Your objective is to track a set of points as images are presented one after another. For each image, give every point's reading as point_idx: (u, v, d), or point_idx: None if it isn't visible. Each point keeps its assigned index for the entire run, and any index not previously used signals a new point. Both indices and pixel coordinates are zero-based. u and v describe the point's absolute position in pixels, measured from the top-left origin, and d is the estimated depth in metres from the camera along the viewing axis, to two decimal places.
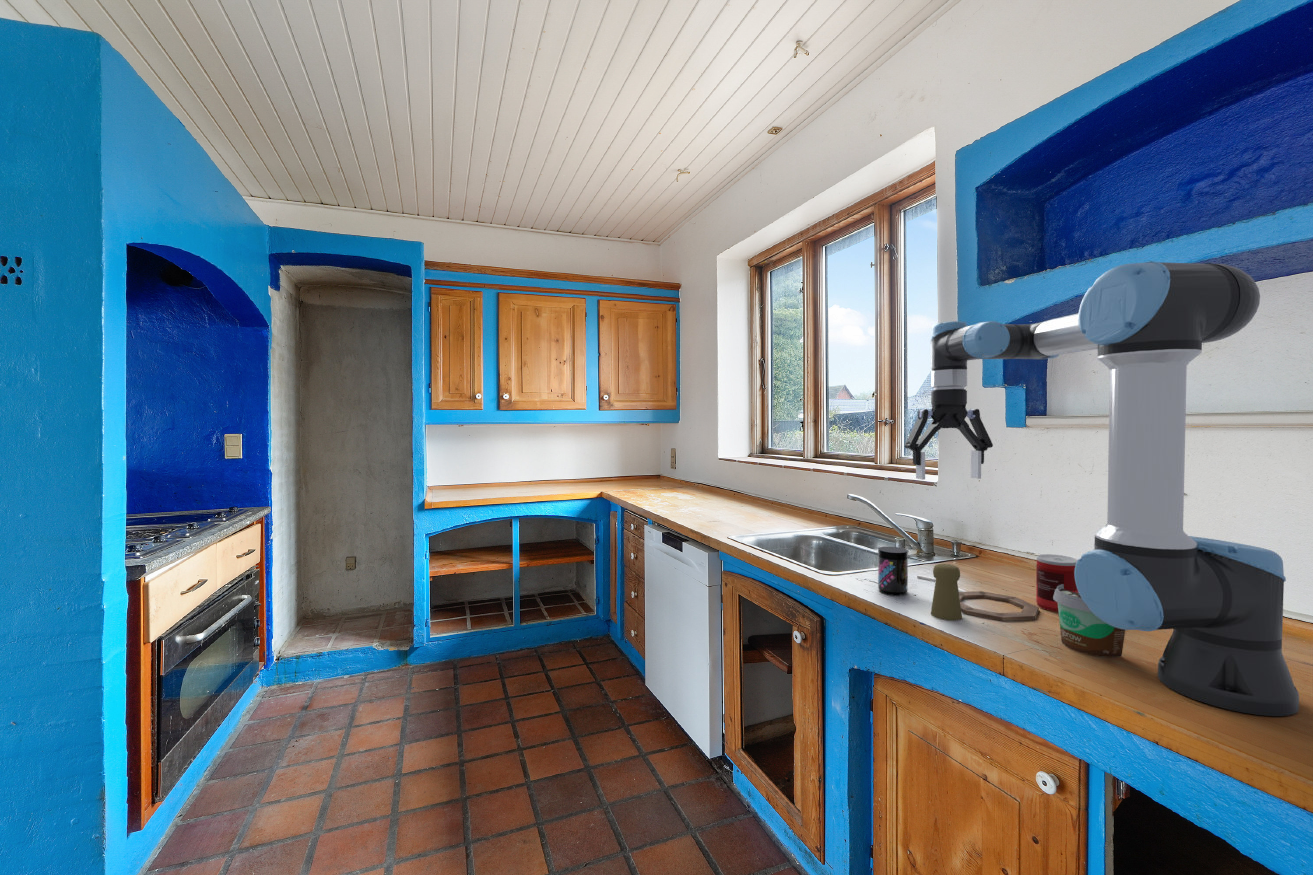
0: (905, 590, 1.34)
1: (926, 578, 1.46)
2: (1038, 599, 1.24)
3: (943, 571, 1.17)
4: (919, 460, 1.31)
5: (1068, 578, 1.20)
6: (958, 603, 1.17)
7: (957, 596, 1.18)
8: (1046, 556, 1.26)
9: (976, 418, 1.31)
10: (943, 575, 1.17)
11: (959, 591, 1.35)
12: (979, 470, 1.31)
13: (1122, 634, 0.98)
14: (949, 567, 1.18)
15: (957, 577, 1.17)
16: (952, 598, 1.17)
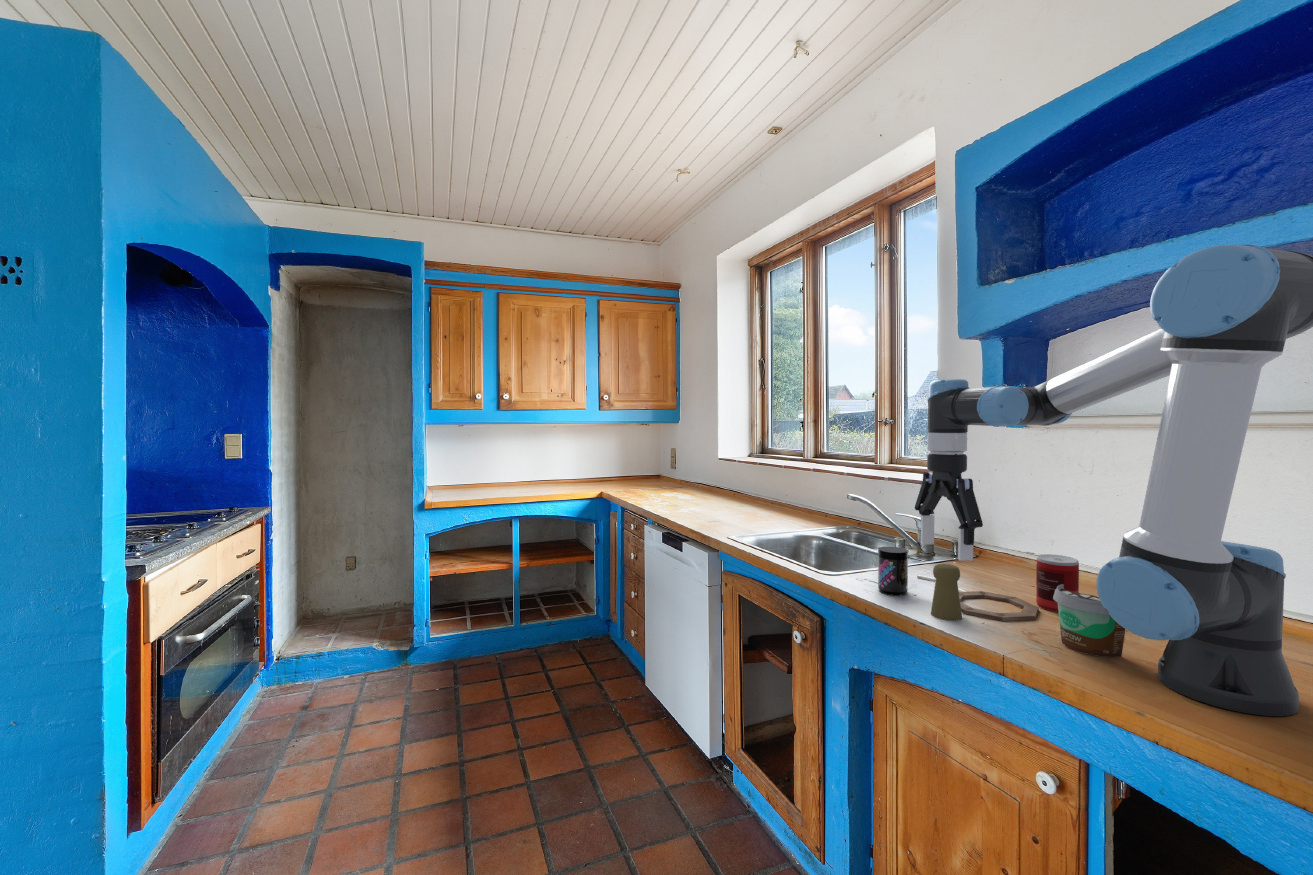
0: (905, 590, 1.34)
1: (926, 578, 1.46)
2: (1038, 599, 1.24)
3: (943, 571, 1.17)
4: None
5: (1068, 578, 1.20)
6: (958, 603, 1.17)
7: (957, 596, 1.18)
8: (1046, 556, 1.26)
9: (958, 489, 1.13)
10: (943, 575, 1.17)
11: (959, 591, 1.35)
12: (959, 550, 1.13)
13: (1122, 634, 0.98)
14: (949, 567, 1.18)
15: (957, 577, 1.17)
16: (952, 598, 1.17)
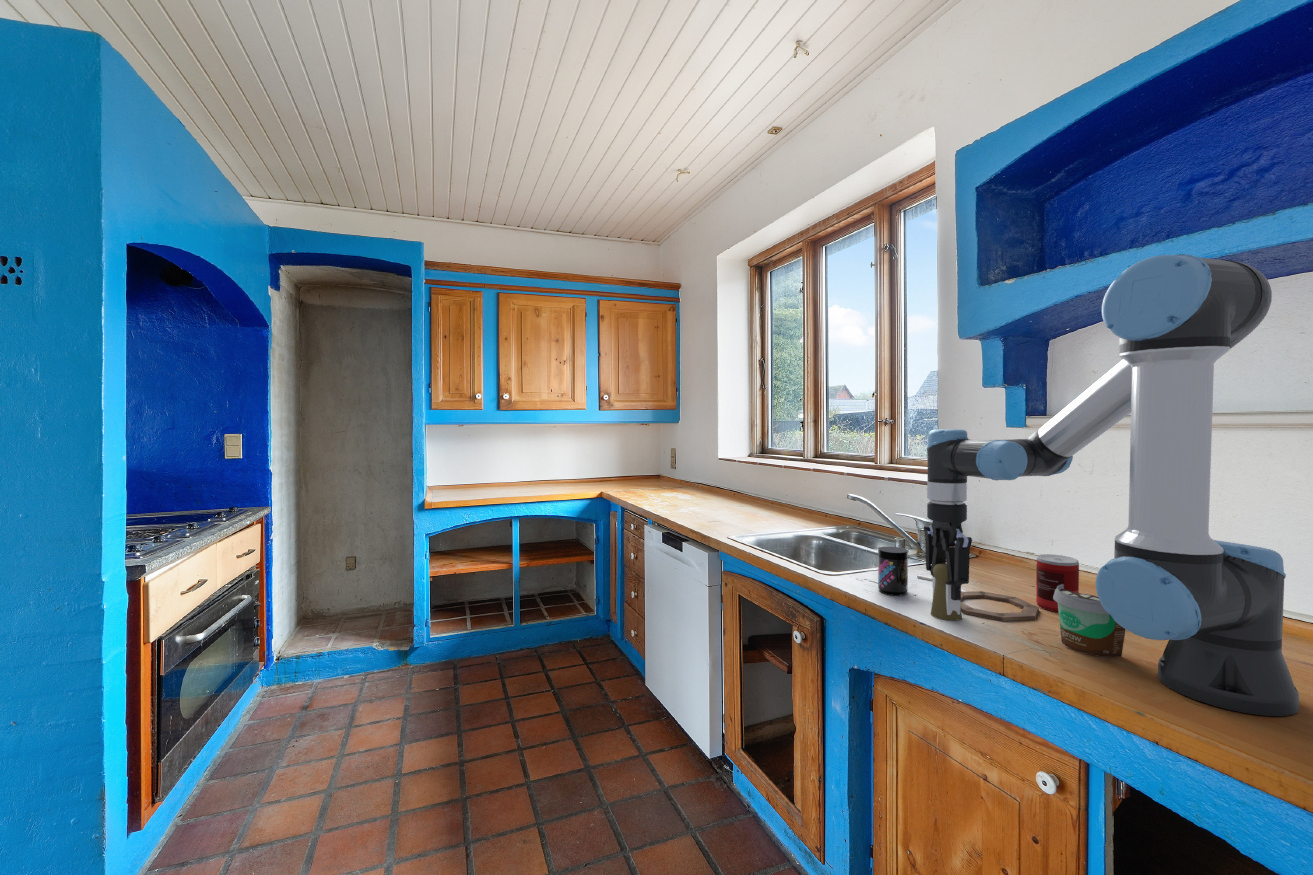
0: (905, 590, 1.34)
1: (926, 578, 1.46)
2: (1038, 599, 1.24)
3: (943, 571, 1.17)
4: (934, 585, 1.22)
5: (1068, 578, 1.20)
6: None
7: None
8: (1046, 556, 1.26)
9: (955, 545, 1.14)
10: (942, 575, 1.17)
11: None
12: (946, 605, 1.17)
13: (1122, 634, 0.98)
14: None
15: None
16: None
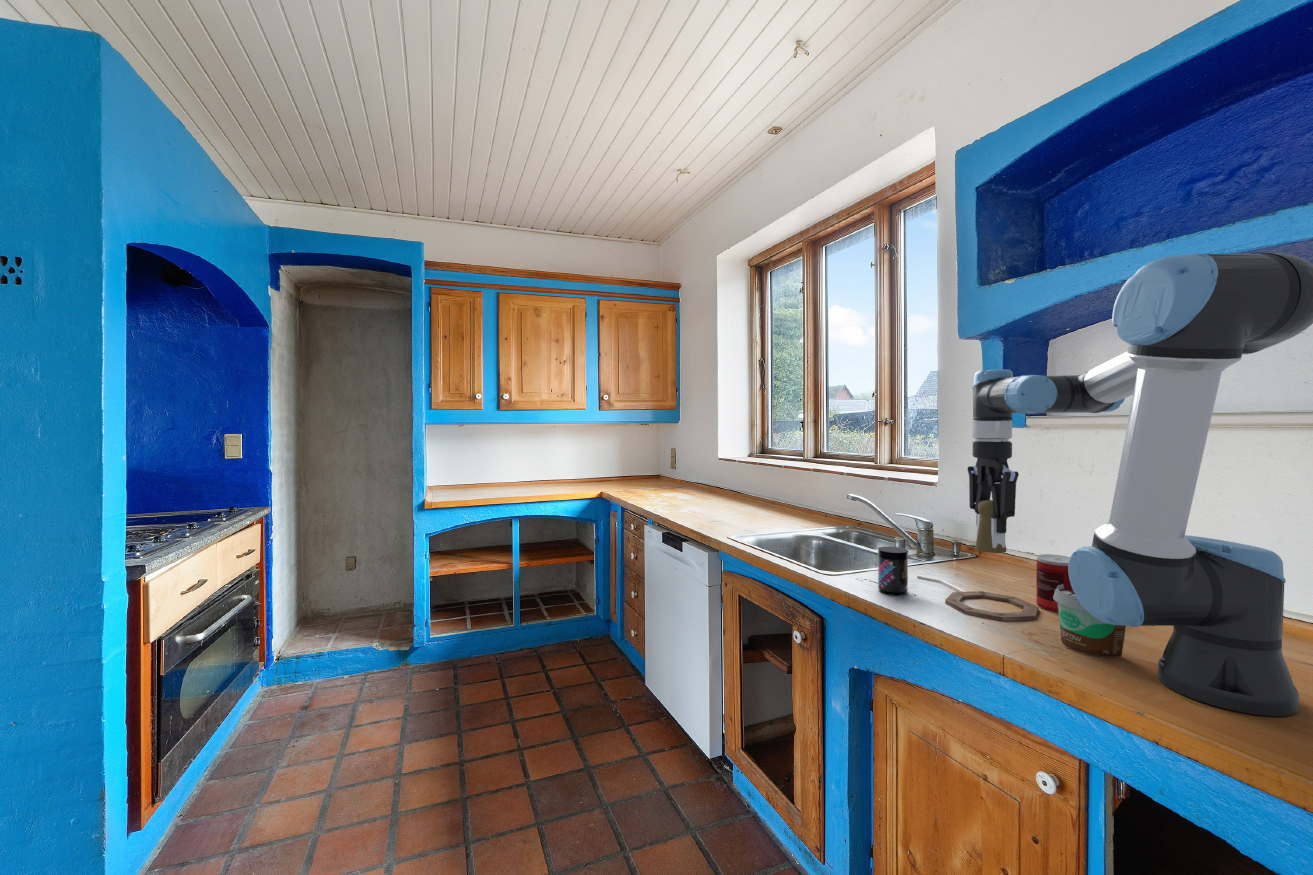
0: (905, 590, 1.34)
1: (926, 578, 1.46)
2: (1038, 599, 1.24)
3: (989, 506, 1.22)
4: None
5: (1068, 578, 1.20)
6: None
7: None
8: (1046, 556, 1.26)
9: (1002, 479, 1.19)
10: (988, 510, 1.22)
11: (959, 591, 1.35)
12: (992, 538, 1.22)
13: (1122, 634, 0.98)
14: None
15: None
16: None
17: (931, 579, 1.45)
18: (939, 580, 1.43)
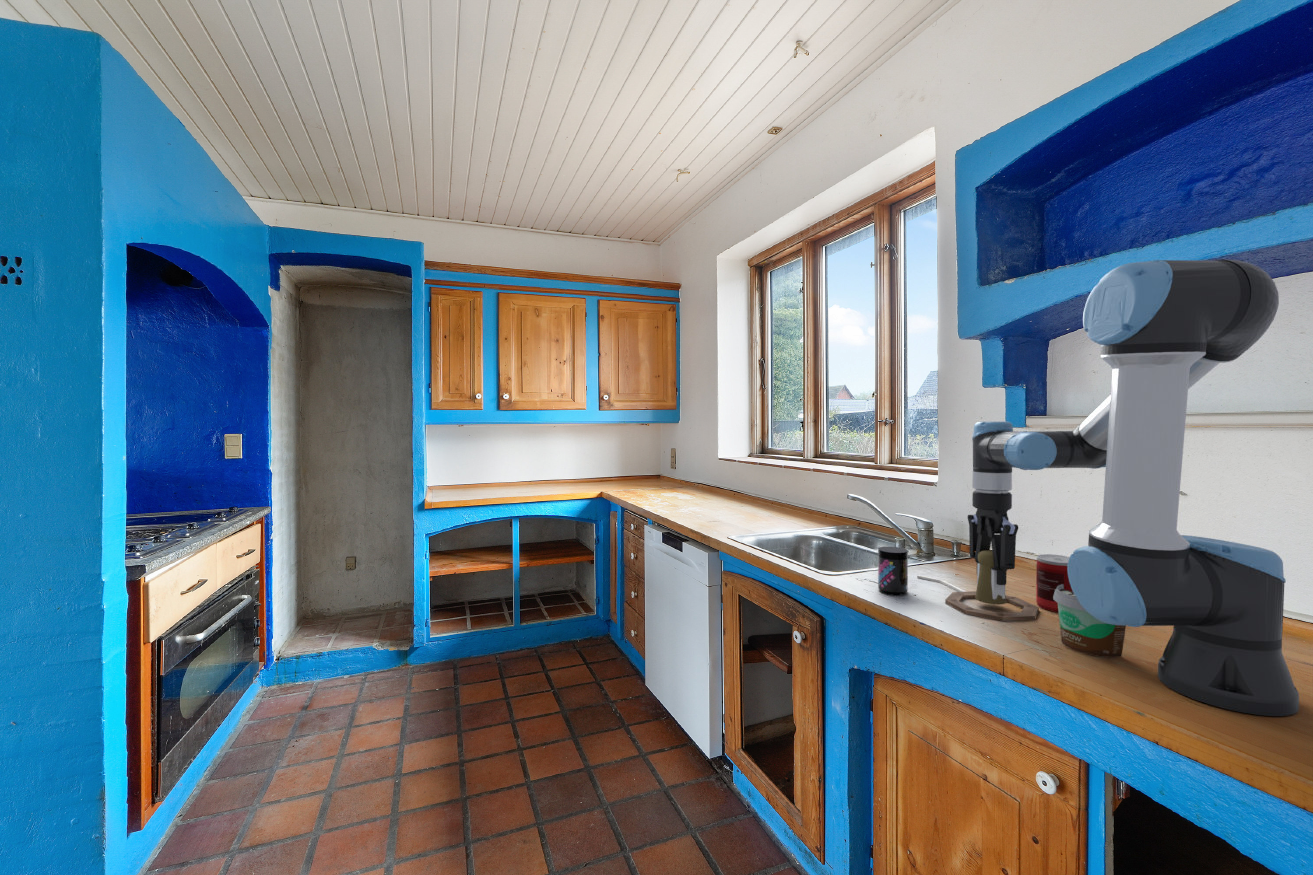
0: (905, 590, 1.34)
1: (926, 578, 1.46)
2: (1038, 599, 1.24)
3: (989, 557, 1.23)
4: (979, 571, 1.28)
5: (1068, 578, 1.20)
6: None
7: None
8: (1046, 556, 1.26)
9: (1002, 532, 1.19)
10: (988, 561, 1.23)
11: (959, 591, 1.35)
12: (992, 589, 1.22)
13: (1122, 634, 0.98)
14: None
15: None
16: None
17: (931, 579, 1.45)
18: (939, 580, 1.43)
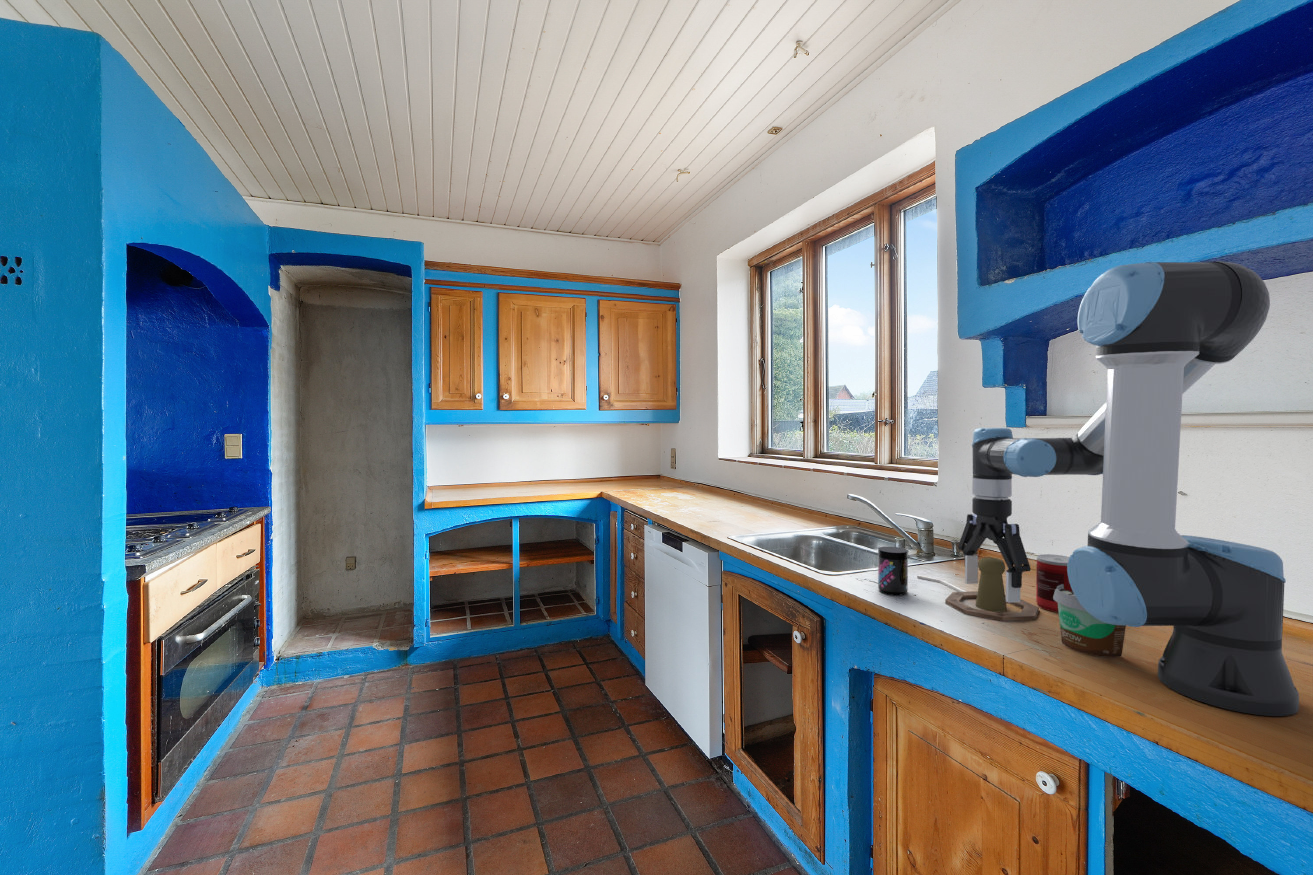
0: (905, 590, 1.34)
1: (926, 578, 1.46)
2: (1038, 599, 1.24)
3: (989, 564, 1.22)
4: None
5: None
6: (1003, 595, 1.22)
7: (1002, 588, 1.23)
8: (1046, 556, 1.26)
9: (1005, 534, 1.18)
10: (988, 568, 1.22)
11: (959, 591, 1.35)
12: (1006, 593, 1.18)
13: (1122, 634, 0.98)
14: (995, 561, 1.23)
15: (1002, 570, 1.22)
16: (997, 590, 1.22)
17: (931, 579, 1.45)
18: (939, 580, 1.43)
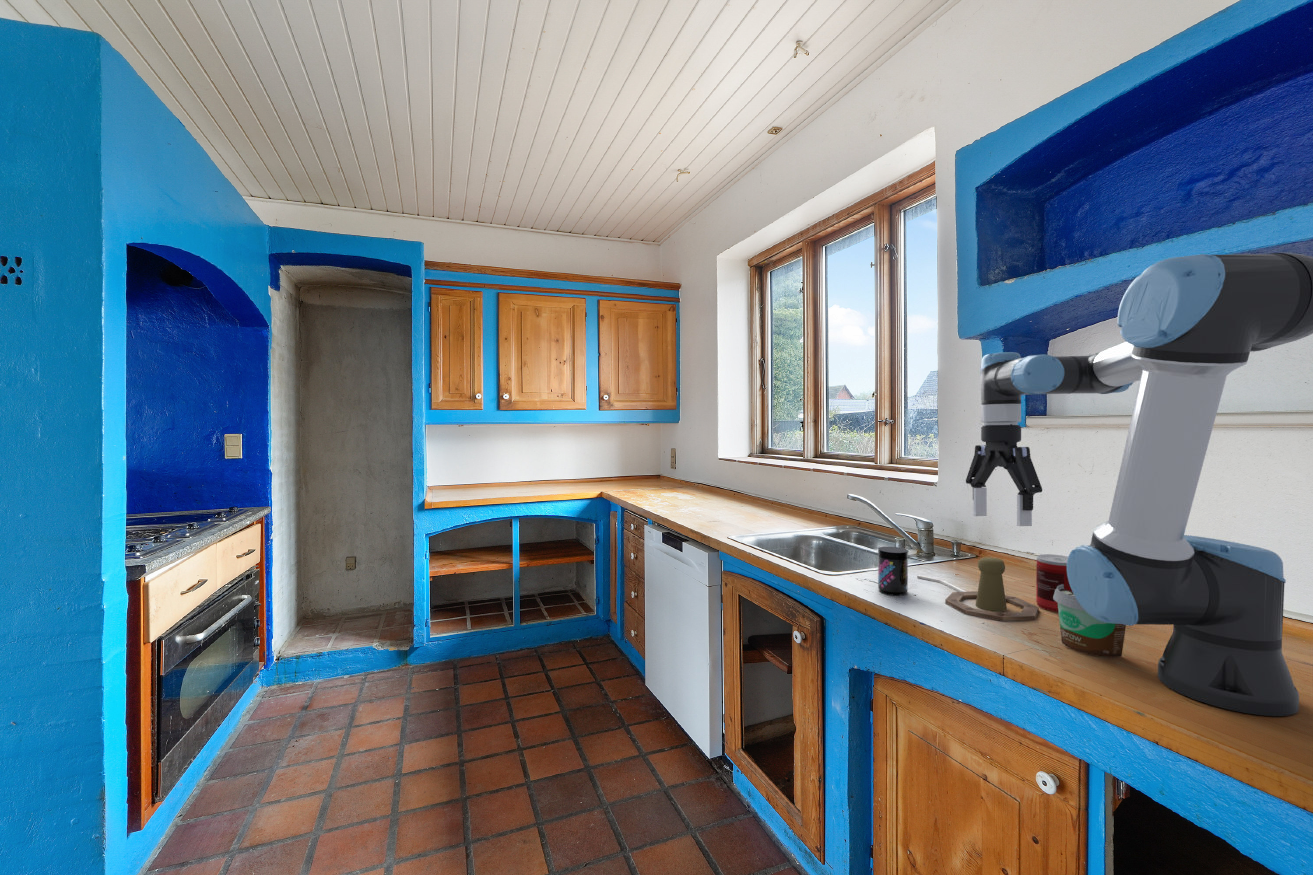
0: (905, 590, 1.34)
1: (926, 578, 1.46)
2: (1038, 599, 1.24)
3: (989, 564, 1.22)
4: None
5: None
6: (1003, 595, 1.22)
7: (1002, 588, 1.23)
8: (1046, 556, 1.26)
9: (1016, 457, 1.17)
10: (988, 568, 1.22)
11: (959, 591, 1.35)
12: (1018, 516, 1.16)
13: (1122, 634, 0.98)
14: (995, 561, 1.23)
15: (1002, 570, 1.22)
16: (997, 590, 1.22)
17: (931, 579, 1.45)
18: (939, 580, 1.43)
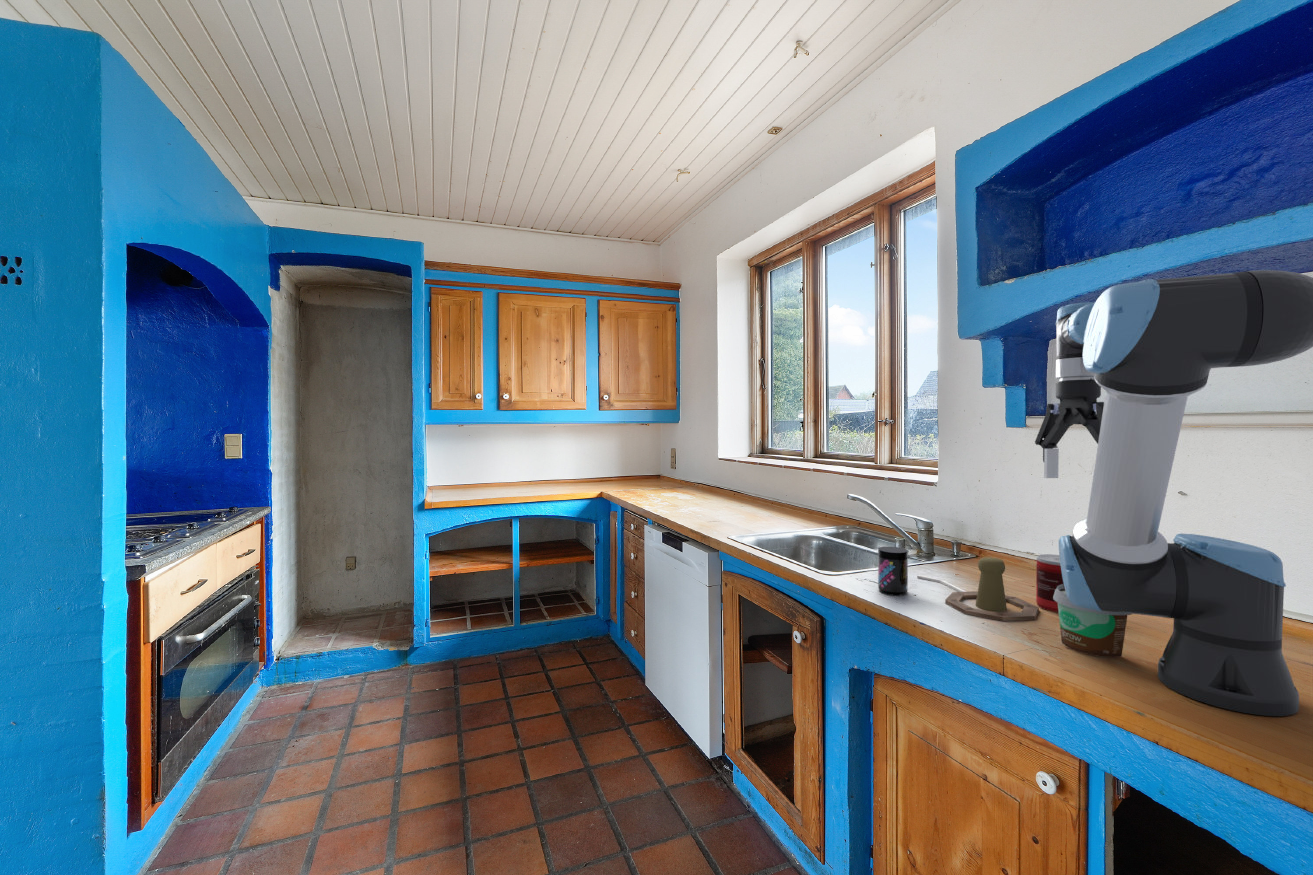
0: (905, 590, 1.34)
1: (926, 578, 1.46)
2: (1038, 599, 1.24)
3: (989, 564, 1.22)
4: None
5: None
6: (1003, 595, 1.22)
7: (1002, 588, 1.23)
8: (1046, 556, 1.26)
9: (1097, 412, 1.10)
10: (988, 568, 1.22)
11: (959, 591, 1.35)
12: None
13: (1122, 634, 0.98)
14: (995, 561, 1.23)
15: (1002, 570, 1.22)
16: (997, 590, 1.22)
17: (931, 579, 1.45)
18: (939, 580, 1.43)
